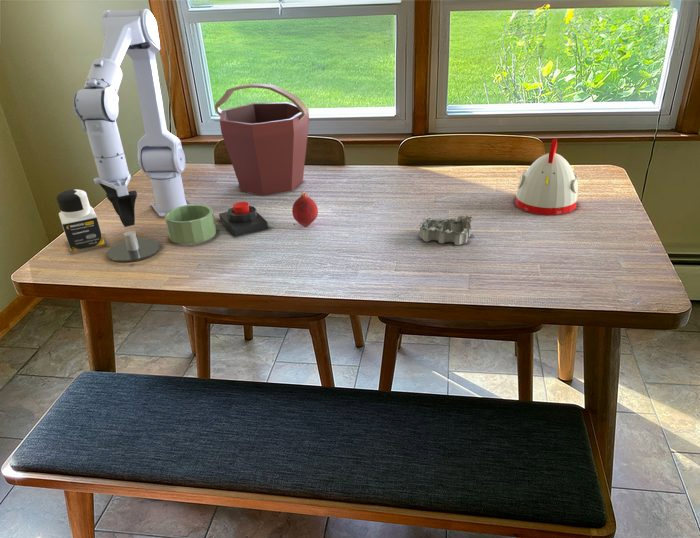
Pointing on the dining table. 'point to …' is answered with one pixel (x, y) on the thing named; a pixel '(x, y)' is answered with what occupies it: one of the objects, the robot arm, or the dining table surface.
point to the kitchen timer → (548, 185)
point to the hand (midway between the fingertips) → (125, 219)
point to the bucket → (266, 141)
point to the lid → (133, 248)
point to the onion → (304, 210)
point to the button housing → (243, 221)
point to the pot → (190, 224)
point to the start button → (241, 208)
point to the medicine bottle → (79, 220)
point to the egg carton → (446, 229)
